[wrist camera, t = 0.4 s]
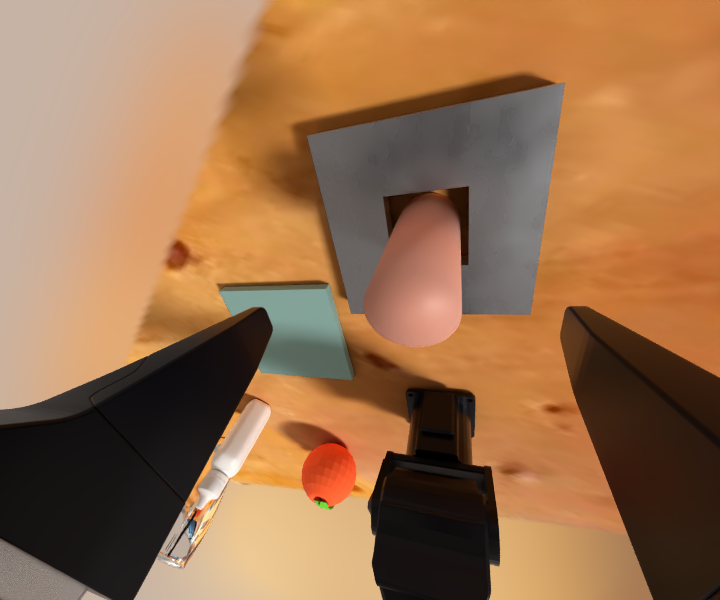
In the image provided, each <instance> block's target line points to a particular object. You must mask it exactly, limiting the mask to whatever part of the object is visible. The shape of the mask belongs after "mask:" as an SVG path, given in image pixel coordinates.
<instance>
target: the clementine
mask: <svg viewBox="0 0 720 600" xmlns="http://www.w3.org/2000/svg"><path fill="white" fill-rule="evenodd" d="M355 480H356V466H355V462H354V460H353V457H352V456H351V454H350V453H349V452H348V451H347V449H345V448H344V447H343V446H341V445H338V444H335V443H328V444H322V445H320V446H318V447H317V448H315V449H314V450H313V451H312V452H311V453H310V454H309V455H308V457H307V459H306V460H305V462H304V465H303V469H302V484H303V488H304V490H305V492H306V493H307V495H308V497H309V498H310V499H311V500H312V501H313V502H315V503H316V504H317V505H318V506H319V507H321V508H324V509H329V510H331V509H332V508H333V507H334V505H336V504H339V503H340V502H342V501H343V500H344V499H346V498H347V497H348V495H349V494H350V493H351V491H352V489H353V486H354V484H355ZM328 506H329V507H328Z"/></svg>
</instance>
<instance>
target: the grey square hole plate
mask: <svg viewBox="0 0 720 600" xmlns="http://www.w3.org/2000/svg"><path fill="white" fill-rule="evenodd" d="M564 86H565V83H555V84H550V85H545V86H540V87H536V88H531V89H526V90H521V91H516V92H511V93H507V94H502V95H497V96H492V97H487V98H482V99H478V100H473V101H468V102H463V103H458V104H453V105H449V106H444V107H439V108H434V109H429V110H424V111H420V112H415V113H410V114H405V115H400V116H395V117H391V118H386V119H381V120H376V121H371V122H366V123H362V124H357V125H352V126H347V127H342V128H337V129H333V130H328V131H323V132H318V133H314V134H311V135H308V136H307V139H308V143H309V147H310V151H311V155H312V159H313V163H314V167H315V171H316V175H317V179H318V183H319V187H320V191H321V195H322V199H323V203H324V207H325V211H326V215H327V219H328V223H329V227H330V231H331V235H332V239H333V243H334V247H335V251H336V255H337V259H338V263H339V267H340V271H341V275H342V279H343V283H344V287H345V291H346V295H347V299H348V303H349V307H350V311H351V314H365V312H364V307H363V300H364V295H365V292H366V290H367V288H368V285H369V283H370V281H371V279H372V276H373V274H374V272H375V270H376V268H377V265H378V263H379V261H380V259H381V256H382V254H383V252H384V250H385V247H386V245H387V243H388V241H389V238H390V236H391V234H392V232H393V229H392V221H391V214H390V206H389V199H388V196H393V195H401V194H409V193H417V192H426V191H434V190H442V189H450V188H458V187H466V186H468V255H461V287H462V314H513V315H531V308H532V301H533V294H534V288H535V281H536V274H537V268H538V261H539V254H540V247H541V241H542V234H543V227H544V221H545V214H546V207H547V200H548V194H549V187H550V180H551V173H552V167H553V160H554V153H555V147H556V140H557V133H558V126H559V120H560V113H561V106H562V100H563V93H564Z"/></svg>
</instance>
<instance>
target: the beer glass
mask: <svg viewBox="0 0 720 600" xmlns="http://www.w3.org/2000/svg"><path fill="white" fill-rule="evenodd" d="M224 439H225V438H220V440H219V442H218V443H217V445H216V447H215V449H214V451H213V453H212V455H211V456H210V458H209V460H208V462H207V464H206V466H205V468H204V470H203V471H202V473H201V475H200V477H199V479H198V481H197V483H196V484H195V486H194V488H193V490H192V492H191V494H190V496H189V497H188V499H187V501H186V502H185V505H184V507H183V509H182V511H181V513H180V515H179V517H178V518H177V520H176V522H175V524H174V526H173V528H172V530H171V531H170V533H169V535H168V537H167V539H166V541H165V543H164V545H163V546H162V548H161V550H160V552H159V554H158V556H157V558H156V560H158V561H160V562H163V563H165V564H167V565H169V566H172V567H175V568H178V569H184V567H185V566H186V564H187V562H188V561H189V559H190V558H191V556H192V555H193V553H194V552H195V550H196V548H197V547H198V545H199V544H200V542H201V540H202V539H203V537H204V535H205V534H206V531H207V530H208V528H209V526H210V524H211V522H212V520H213V518H214V516H215V514H216V511H217V509H218V506H219V504H220V502H221V499H222V497H223V494H224V491H225V489H226V487H227V484H228V482H229V480H230V479H231V478H228V482H227V484H226V485H225V487H224V489H223V490H222V492H221V494H220V496H219V497H218V499H214V500H210V501H208V503H207V504H206V505H205V506H204V507H203V509H202V510H200V509H198V508H196V505H197V502H198V500H199V498H200V493H199V491H198V487H199V485H200V484H201V482H202V481H203V479H204V478H205V476H206V475H207V473H208V471H209V470H211V460H212V458H213V456H214V454H215V452H216V451H217V449H218V448H219V446H220V445H221V443H222V442H223V440H224Z"/></svg>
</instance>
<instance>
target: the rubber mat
mask: <svg viewBox="0 0 720 600" xmlns="http://www.w3.org/2000/svg"><path fill="white" fill-rule="evenodd" d="M219 292H220V294H221V296H222V298H223V300H224V302H225V304H226V306H227V308H228V310H229V312H230V314H231V315H232V316H234V315H237V314H239V313H241V312H243V311H245V310H247V309H250V308H252V307H263V308H265V309H266V311H267V313H268V316H269V318H270V321H271V323H272V326H273V333H272V335H271V338H270V340H269V343H268V345H267V347H266V350H265V352H264V355H263V357H262V359H261V362H260V364H259V366H258V368H259V369H260V371H261V373H268V374H280V375H292V376H305V377H317V378H330V379H342V380H353V377H354V371H353V367H352V364H351V360H350V356H349V353H348V349H347V346H346V342H345V339H344V335H343V331H342V328H341V324H340V321H339V317H338V314H337V310H336V306H335V303H334V299H333V296H332V292H331V289H330V285H329V284H309V285H274V286H240V287H224V288H223V289H221V290H220V291H219Z"/></svg>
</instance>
